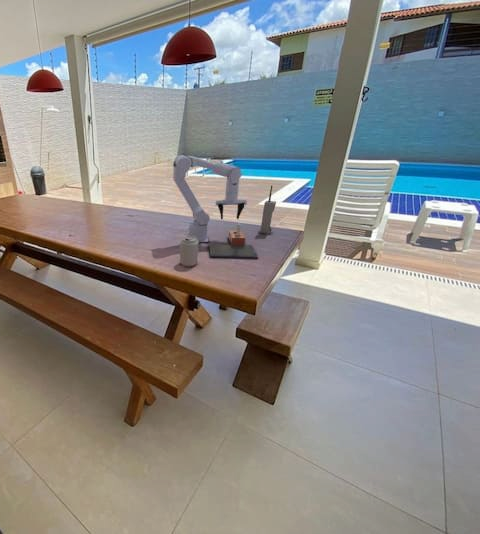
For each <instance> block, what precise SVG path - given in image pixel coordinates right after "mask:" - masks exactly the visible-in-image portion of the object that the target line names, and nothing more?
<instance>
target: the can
mask: <svg viewBox="0 0 480 534" xmlns="http://www.w3.org/2000/svg"><path fill="white" fill-rule="evenodd" d="M199 244H200V242H198V240H197V238H196V237H193V236H188V235H185V236H183V237H181V239H180V247H179V263H180V264H181V265H182V266H184V267H193V266H195V265H197V264H198V258H199Z"/></svg>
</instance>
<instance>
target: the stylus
mask: <svg viewBox="0 0 480 534" xmlns="http://www.w3.org/2000/svg"><path fill="white" fill-rule="evenodd" d="M241 225H242V223H240V222H239V223H237V225H236V231H237V232H236V237H239V236H240V231H241Z"/></svg>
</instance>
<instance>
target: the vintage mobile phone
mask: <svg viewBox="0 0 480 534" xmlns="http://www.w3.org/2000/svg"><path fill="white" fill-rule="evenodd" d="M272 191H273V185H272V184H271V185H270V190H269V196H268V200H265V202H264V204H263V205H264V206H263V210H262V217H261V218H262V219H261V224H260V231H259V232H260V234H264V235H265V234H266V235H270V234H271V233H272V228H271V224H272V219H273V218H272V217H273V213H274V211H275V208H276V204H277V201H275V200H271V199H272Z"/></svg>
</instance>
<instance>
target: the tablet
mask: <svg viewBox="0 0 480 534" xmlns="http://www.w3.org/2000/svg"><path fill="white" fill-rule="evenodd" d="M208 250H209V255H210V258H211V259H246V260H247V259H248V260H249V259H250V260H251V259H252V260H258V258H259V257H258V254H257V253H256V251H255V249H254V247H253V244H245V245H231V244H212V243H211V244H210V243H209V244H208Z"/></svg>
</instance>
